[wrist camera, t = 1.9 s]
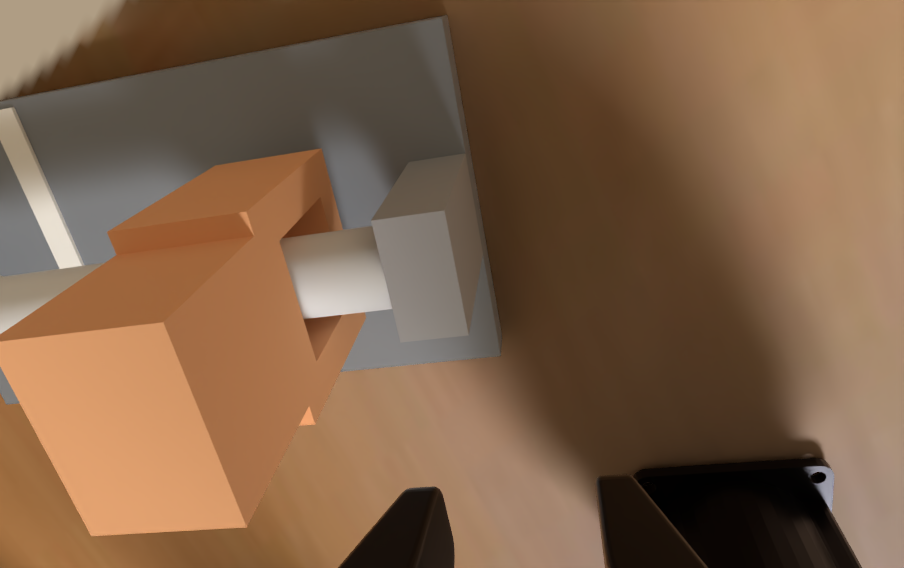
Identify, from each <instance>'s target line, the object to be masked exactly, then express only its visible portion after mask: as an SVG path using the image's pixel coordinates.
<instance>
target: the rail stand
mask: <svg viewBox="0 0 904 568" xmlns="http://www.w3.org/2000/svg"><path fill="white" fill-rule="evenodd" d="M321 148H322V152H323V156H324V159H325V163H326V167H327V171H328V175H329V178H330V182H331V186H332V190H333V194H334V197H335V201H336V205H337V209H338V213H339V216H340V220H341V224H342V228H343V230H339V231H332V232H325V233H318V234H310V235H303V236H296V237H288V238H281V240H280V245H281V248H282V251H283V254H284V258H285V261H286V264H287V267H288V271H289V274H290V277H291V280H292V284H293V287H294V290H295V293H296V297H297V300H298V303H299V306H300V310H301V313H302V316H303V319H309V318H318V317H327V316H335V315H344V314H353V313H362V312H365V315H366V319H365V321H364V323H363V325H362V327H361V330H360V332H359V334H358V336H357V338H356V340H355V342H354V344H353V346H352V348H351V350H350V353H349V355H348V357H347V359H346V361H345V363H344V365H343V367H342V369H341V371H340V372H343V371H353V370H363V369H374V368H384V367H394V366H404V365H414V364H425V363H435V362H445V361H455V360H465V359H476V358H486V357H496V356H501V346H502V333H501V327H500V321H499V315H498V309H497V303H496V298H495V292H494V286H493V280H492V274H491V268H490V262H489V257H488V251H487V245H486V239H485V233H484V227H483V221H482V216H481V210H480V204H479V198H478V192H477V186H476V180H475V175H474V169H473V163H472V157H471V151H470V145H469V139H468V133H467V128H466V122H465V116H464V110H463V104H462V98H461V92H460V87H459V81H458V75H457V69H456V63H455V57H454V51H453V46H452V40H451V34H450V28H449V22H448V16H447V15H444V16H438V17H433V18H428V19H423V20H418V21H412V22H407V23H402V24H397V25H391V26H386V27H381V28H376V29H371V30H365V31H360V32H355V33H350V34H344V35H339V36H334V37H329V38H324V39H318V40H313V41H308V42H303V43H298V44H292V45H287V46H282V47H277V48H271V49H266V50H261V51H256V52H251V53H245V54H240V55H235V56H230V57H224V58H219V59H214V60H209V61H204V62H198V63H193V64H188V65H183V66H178V67H172V68H167V69H162V70H157V71H151V72H146V73H141V74H136V75H131V76H125V77H120V78H115V79H110V80H105V81H99V82H94V83H89V84H84V85H78V86H73V87H68V88H63V89H58V90H52V91H47V92H42V93H37V94H31V95H26V96H21V97H16V98H11V99H5V100H0V334H1V333H3V332H4V331H6V330H7V329H9V328H10V327H12V326H13V325H15V324H16V323H18V322H19V321H20V320H22V319H23V318H25V317H26V316H28V315H29V314H31V313H32V312H34V311H35V310H37V309H38V308H40V307H41V306H42V305H44V304H45V303H47V302H48V301H50V300H51V299H53V298H54V297H56V296H57V295H59V294H60V293H62V292H63V291H64V290H66V289H67V288H69V287H70V286H72V285H73V284H75V283H76V282H78V281H79V280H81V279H82V278H84V277H85V276H86V275H88V274H89V273H91V272H92V271H94V270H95V269H97V268H98V267H100V266H101V265H103V264H104V263H106V262H107V261H108V260H110V259H111V258H113V257H114V256H116V253H115V250H114V248H113V246H112V243H111V241H110V239H109V236H108V234H107V232H108V231H109V230H111V229H113V228H114V227H116V226H117V225H119V224H121V223H122V222H124V221H126V220H127V219H129V218H130V217H132V216H134V215H135V214H137V213H139V212H140V211H142V210H144V209H145V208H147V207H148V206H150V205H152V204H153V203H155V202H157V201H158V200H160V199H162V198H163V197H165V196H166V195H168V194H170V193H171V192H173V191H175V190H176V189H178V188H179V187H181V186H183V185H184V184H186V183H188V182H189V181H191V180H193V179H194V178H196V177H197V176H199V175H201V174H202V173H204V172H206V171H207V170H209V169H211V168H212V167H214V166H215V165H221V164H228V163H234V162H240V161H246V160H253V159H259V158H265V157H271V156H277V155H284V154H290V153H296V152H302V151H308V150H315V149H321ZM0 393H1V395H2V397H3V399H4V401H5V403H6V404H17V403H20V402H19V401H18V399H17V397H16V395H15V393H14V391H13V389H12V388H11V386H10V384H9V382H8V380H7V378H6V376H5V375H4V373H3V371H2V369H1V367H0Z"/></svg>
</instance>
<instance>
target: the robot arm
mask: <svg viewBox="0 0 904 568" xmlns="http://www.w3.org/2000/svg"><path fill="white" fill-rule="evenodd" d="M815 472H820V473H819V474H817V475H814V476H813V475H812V474H813V473H815ZM647 482H650V483H653V484H651V485H648V486H646V485H643V484H644V483H647ZM595 486H596V495H597V504H598V512H599V521H600V529H601V538H602V546H603V555H604V563H605V568H862V567H861V565H860V563H859V561H858V560H857V558H856V556H855V554H854V552H853V551H852V549H851V547H850V545H849V543H848V542H847V540H846V538H845V536H844V534H843V532H842V531H841V529H840V527H839V525H838V523H837V522H836V520H835V518H834V516H833V514H832V502H833V488H834V473H833V471H832V469H831V468H830V466H829V464H828V463H827V462H826V461H825V460H823V459H820V458H807V459H791V460H776V461H761V462H746V463H730V464H715V465H700V466H684V467H669V468H654V469H644V470H640V471H638V472H637V473H636V474H635V475H634V476H633V477H632V476H631V475H627V474H623V475H608V476H599V477H598V478H597V479H596V481H595ZM338 568H454V542H453V536H452V531H451V527H450V523H449V519H448V515H447V510H446V506H445V502H444V498H443V494H442V492H441V491H440V489H438V488H437V487H420V488H409V489H407V490H405V491H404V492H403V493H402V494H401V495H400V496H399V497H398V498H397V499H396V501H395V502H394V503H393V504H392V505H391V506H390V508H389V509H388V510H387V511H386V512H385V513H384V515H383V516H382V517H381V518H380V519H379V520H378V522H377V523H376V524H375V525H374V526H373V527H372V529H371V530H370V531H369V532H368V533H367V534H366V536H365V537H364V538H363V539H362V540H361V542H360V543H359V544H358V545H357V546H356V547H355V549H354V550H353V551H352V552H351V553H350V554H349V556H348V557H347V558H346V559H345V560H344V561H343V563H342V564H341V565H340V566H339V567H338Z"/></svg>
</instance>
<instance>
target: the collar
mask: <svg viewBox="0 0 904 568" xmlns="http://www.w3.org/2000/svg"><path fill="white" fill-rule="evenodd" d="M339 230H343V228H342V224H341V220H340V216H339V213H338V209H337V205H336V201H335V197H334V194H333V190H332V186H331V182H330V178H329V175H328V171H327V167H326V163H325V159H324V156H323V152H322V148H321V149H315V150H308V151H302V152H296V153H290V154H284V155H277V156H271V157H265V158H259V159H253V160H246V161H240V162H234V163H228V164H221V165H215V166H214V167H212V168H211V169H209V170H207V171H206V172H204V173H202V174H201V175H199V176H197V177H196V178H194V179H193V180H191V181H189V182H188V183H186V184H184V185H183V186H181V187H179V188H178V189H176V190H175V191H173V192H171V193H170V194H168V195H166V196H165V197H163V198H162V199H160V200H158V201H157V202H155V203H153V204H152V205H150V206H148V207H147V208H145V209H144V210H142V211H140V212H139V213H137V214H135V215H134V216H132V217H130V218H129V219H127V220H126V221H124V222H122V223H121V224H119V225H117V226H116V227H114V228H113V229H111V230H109V231H108V232H107V234H108V236H109V239H110V241H111V243H112V246H113V248H114V250H115V253H116V256H114V257H113V258H111V259H110V260H108V261H107V262H106V263H104V264H103V265H101V266H100V267H98V268H97V269H95V270H94V271H92V272H91V273H89V274H88V275H86V276H85V277H84V278H82V279H81V280H79V281H78V282H76V283H75V284H73V285H72V286H70V287H69V288H67V289H66V290H64V291H63V292H62V293H60V294H59V295H57V296H56V297H54V298H53V299H51V300H50V301H48V302H47V303H45V304H44V305H42V306H41V307H40V308H38V309H37V310H35V311H34V312H32V313H31V314H29V315H28V316H26V317H25V318H23V319H22V320H20V321H19V322H18V323H16V324H15V325H13V326H12V327H10V328H9V329H7V330H6V331H4V332H3V333H1V334H0V367H1V369H2V371H3V373H4V375H5V376H6V378H7V380H8V382H9V384H10V386H11V388H12V389H13V391H14V393H15V395H16V397H17V399H18V401H19V402H20V404H21V406H22V408H23V410H24V412H25V414H26V415H27V417H28V419H29V421H30V423H31V425H32V427H33V428H34V430H35V432H36V434H37V436H38V438H39V440H40V441H41V443H42V445H43V447H44V449H45V451H46V453H47V454H48V456H49V458H50V460H51V462H52V464H53V466H54V467H55V469H56V471H57V473H58V475H59V477H60V479H61V480H62V482H63V484H64V486H65V488H66V490H67V492H68V493H69V495H70V497H71V499H72V501H73V503H74V505H75V506H76V508H77V510H78V512H79V514H80V516H81V518H82V519H83V521H84V523H85V525H86V527H87V529H88V531H89V532H90V534H91V536H101V535H119V534H137V533H154V532H172V531H190V530H208V529H226V528H243V527H247V526H248V524H249V522H250V520H251V518H252V516H253V514H254V512H255V510H256V508H257V506H258V504H259V502H260V501H261V499H262V497H263V495H264V493H265V491H266V489H267V487H268V485H269V483H270V481H271V479H272V477H273V475H274V473H275V471H276V469H277V467H278V465H279V463H280V462H281V460H282V458H283V456H284V454H285V452H286V450H287V448H288V446H289V444H290V442H291V440H292V438H293V436H294V434H295V432H296V430H297V428H298V426H301V425H313V424H316V421H317V419H318V417H319V415H320V413H321V411H322V409H323V407H324V405H325V403H326V401H327V399H328V396H329V394H330V392H331V390H332V388H333V386H334V384H335V382H336V380H337V378H338V376H339V373H340V371H341V369H342V367H343V365H344V363H345V361H346V359H347V357H348V355H349V353H350V350H351V348H352V346H353V344H354V342H355V340H356V338H357V336H358V334H359V332H360V330H361V327H362V325H363V323H364V321H365V319H366V315H365V312H362V313H353V314H344V315H335V316H327V317H318V318H309V319H303V316H302V313H301V310H300V306H299V303H298V300H297V297H296V293H295V290H294V287H293V284H292V280H291V277H290V274H289V271H288V267H287V264H286V261H285V258H284V254H283V251H282V248H281V245H280V240H281V238H288V237H296V236H303V235H310V234H318V233H325V232H332V231H339Z"/></svg>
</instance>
